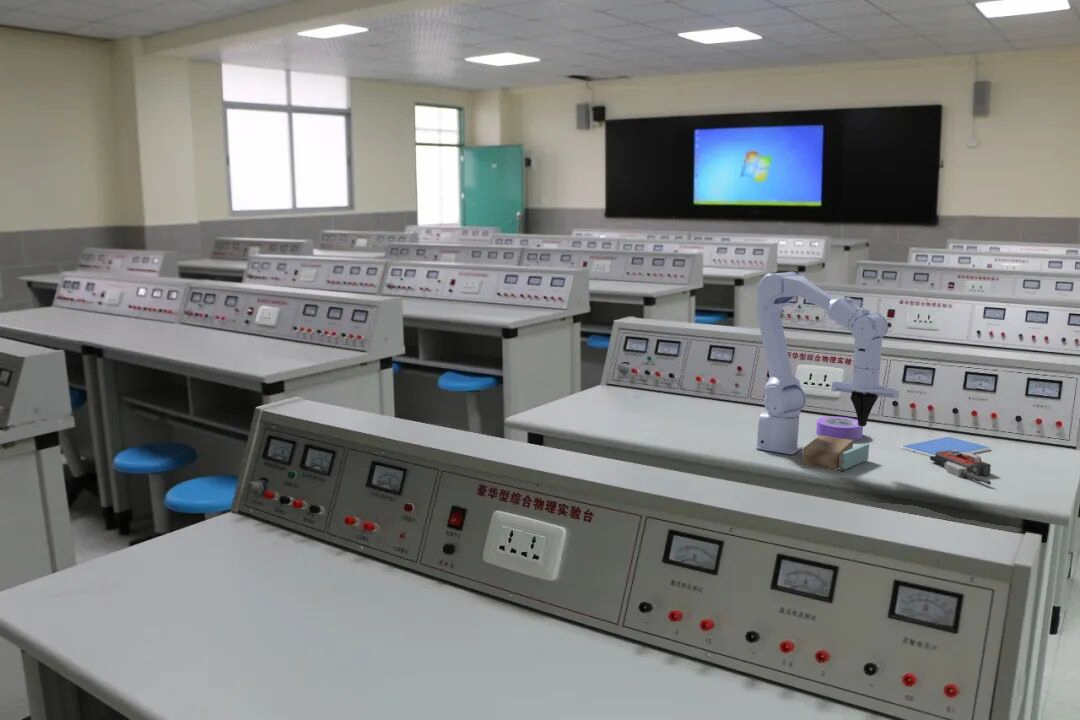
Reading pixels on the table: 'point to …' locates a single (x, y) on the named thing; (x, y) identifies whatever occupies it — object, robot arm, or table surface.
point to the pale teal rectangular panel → (855, 456)
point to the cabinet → (826, 452)
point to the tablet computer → (944, 446)
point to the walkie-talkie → (962, 464)
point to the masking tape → (839, 428)
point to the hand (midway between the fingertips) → (862, 425)
